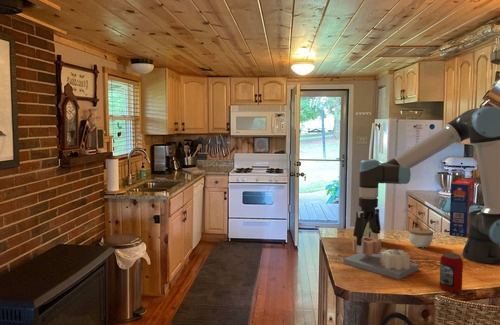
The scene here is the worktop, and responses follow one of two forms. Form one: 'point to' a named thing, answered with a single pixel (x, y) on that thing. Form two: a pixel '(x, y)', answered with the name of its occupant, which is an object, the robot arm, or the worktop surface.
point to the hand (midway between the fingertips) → (366, 250)
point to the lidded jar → (420, 237)
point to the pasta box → (461, 206)
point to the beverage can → (451, 272)
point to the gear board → (378, 265)
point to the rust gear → (369, 245)
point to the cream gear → (394, 259)
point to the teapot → (445, 205)
